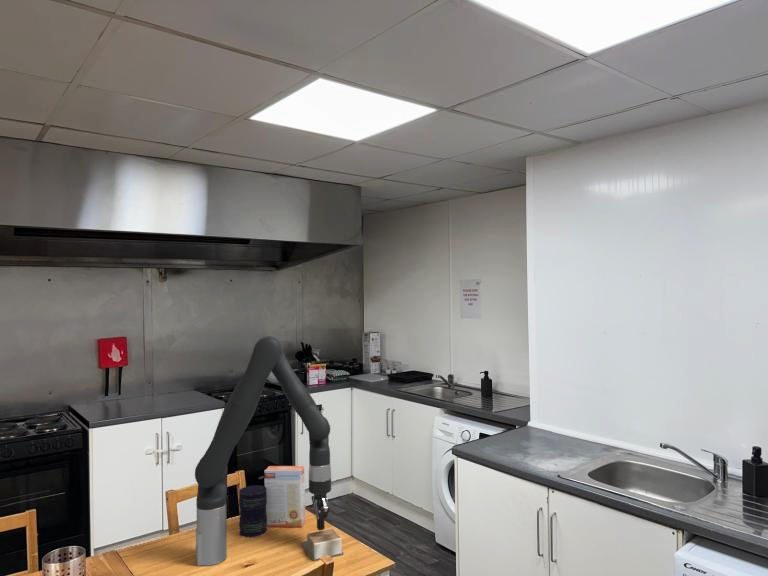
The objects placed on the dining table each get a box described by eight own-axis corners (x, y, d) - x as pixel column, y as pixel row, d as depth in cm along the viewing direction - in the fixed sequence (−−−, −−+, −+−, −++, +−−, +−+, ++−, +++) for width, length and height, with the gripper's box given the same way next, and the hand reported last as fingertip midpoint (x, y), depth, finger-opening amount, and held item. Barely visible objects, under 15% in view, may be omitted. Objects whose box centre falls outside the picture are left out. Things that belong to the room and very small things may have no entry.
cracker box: (305, 521, 196) (305, 465, 197) (301, 528, 190) (300, 470, 191) (269, 520, 197) (269, 464, 198) (264, 527, 191) (263, 469, 192)
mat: (313, 561, 165) (313, 559, 165) (301, 543, 177) (301, 541, 177) (343, 554, 169) (343, 552, 169) (329, 537, 182) (329, 535, 182)
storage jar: (239, 527, 191) (238, 486, 192) (266, 524, 194) (266, 483, 194) (239, 539, 182) (238, 496, 182) (267, 535, 184) (267, 492, 185)
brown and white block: (307, 547, 173) (315, 559, 165) (307, 533, 173) (314, 544, 165) (332, 542, 177) (341, 553, 168) (332, 528, 177) (341, 539, 169)
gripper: (303, 473, 179) (304, 524, 179) (315, 484, 167) (315, 539, 167) (324, 469, 183) (325, 520, 182) (337, 480, 171) (337, 534, 170)
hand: (320, 529), depth 174 cm, fingers closed
